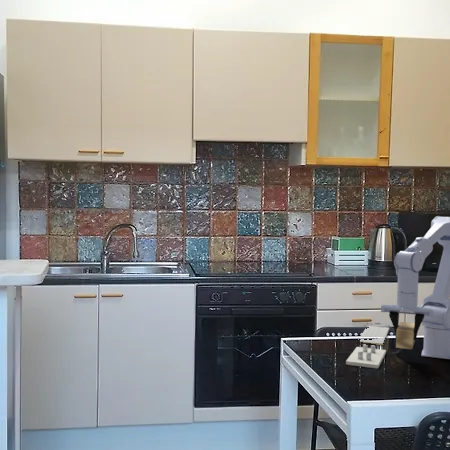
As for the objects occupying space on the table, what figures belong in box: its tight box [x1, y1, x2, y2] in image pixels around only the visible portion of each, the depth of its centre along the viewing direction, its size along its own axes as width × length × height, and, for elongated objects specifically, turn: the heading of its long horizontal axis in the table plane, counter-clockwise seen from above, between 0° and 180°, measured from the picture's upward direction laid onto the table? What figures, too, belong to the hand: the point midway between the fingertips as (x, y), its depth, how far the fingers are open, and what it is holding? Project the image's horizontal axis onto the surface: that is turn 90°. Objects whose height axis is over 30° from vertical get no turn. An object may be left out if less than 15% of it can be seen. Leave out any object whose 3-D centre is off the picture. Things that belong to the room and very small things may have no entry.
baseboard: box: [359, 322, 390, 346], centre depth 204 cm, size 30×3×10 cm
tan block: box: [395, 321, 416, 350], centre depth 166 cm, size 4×14×5 cm, turn 158°
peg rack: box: [345, 344, 387, 369], centre depth 170 cm, size 9×20×3 cm, turn 158°
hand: (405, 338), depth 166 cm, fingers closed on tan block, 4 cm apart
